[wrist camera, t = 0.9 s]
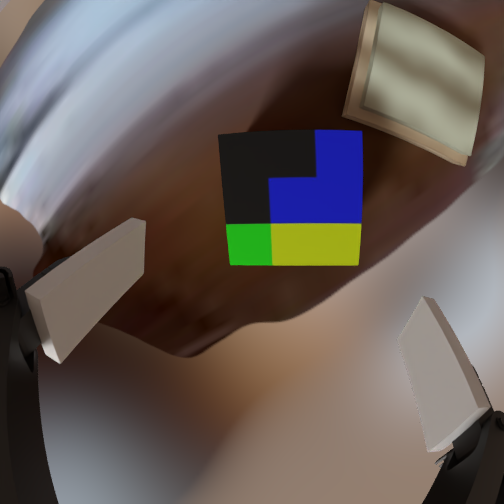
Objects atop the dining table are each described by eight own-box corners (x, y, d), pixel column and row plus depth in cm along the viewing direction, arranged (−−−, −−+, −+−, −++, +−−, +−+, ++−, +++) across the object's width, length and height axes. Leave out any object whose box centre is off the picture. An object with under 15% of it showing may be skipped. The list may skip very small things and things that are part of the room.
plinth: (364, 10, 19) (374, -9, 15) (469, 61, 18) (491, 54, 14) (341, 116, 25) (350, 112, 20) (452, 163, 24) (474, 169, 20)
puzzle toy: (340, 133, 26) (362, 130, 17) (340, 225, 30) (358, 265, 20) (244, 135, 27) (218, 134, 18) (250, 226, 31) (230, 264, 22)
